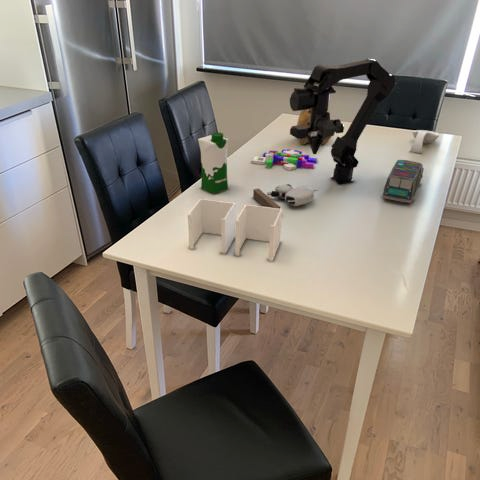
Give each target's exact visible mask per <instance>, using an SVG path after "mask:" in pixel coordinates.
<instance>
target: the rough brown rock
mask: <svg viewBox="0 0 480 480" xmlns="http://www.w3.org/2000/svg"><path fill="white" fill-rule="evenodd" d="M308 112H309V110H300V111H299V116H298V120H297V122H296V125H302V126H304V127H305V128H307V127H309V126H308V125H307V123H308V122H310V113H308ZM332 137H333V136H329V137H326V138H325V139H324V140H323V141H322V143H321V145H322V146H325V145H327V144H328V142H329V141H330V139H331V138H332ZM298 140H299V142H300V144H301V145H307V144H310V143H309V140H308V138H307V137H306V138H302V139H298Z"/></svg>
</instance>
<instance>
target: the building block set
mask: <svg viewBox="0 0 480 480" xmlns="http://www.w3.org/2000/svg"><path fill="white" fill-rule="evenodd" d="M317 160H318V158H317V157H310V154H306V153H303V151H301V150H299V149H294V150H291V149H289V148H288V149H287V148H286V149H282V150H281V151H278V150H269V151H268V152H264V153H263V154H262V156H257V155H255V156H254V157H253V159H251V164H257V165H266V166H265V168H266V169H271V168H272V166H273V165H279V166H283V168H284V169H285V170H287V171H293V170H296V169H302V168H304V169H314V166H315V164H316V163H317V162H318V161H317Z"/></svg>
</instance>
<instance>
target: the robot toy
mask: <svg viewBox="0 0 480 480" xmlns="http://www.w3.org/2000/svg"><path fill="white" fill-rule="evenodd" d="M319 191H320V190H319V189H313V188H310V187H305V186H298V187H295V188H294V187H293V186H292V185H291V184H290V183H287V184H282V185H278V186H275V189H274V190H271V191H268V192H266V195H267V196H270V197H271V198H277V197H278V198H279V199H281V200H283V199H284V201H285V203H286V204H290V205H291V206H293V207H299V206H302V205H305V204H308V203H310V202H311V201H312V200H313V199H314V198H315V192H319Z"/></svg>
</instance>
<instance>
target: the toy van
mask: <svg viewBox="0 0 480 480" xmlns="http://www.w3.org/2000/svg"><path fill="white" fill-rule="evenodd" d="M424 170H425V168H424V166H423V163H421V162H418V161H414V160H408V159H397V160H396V162H395V163H394V165H393V166H392V168H391V171H390V172H389V174H388V176H387V178H386V181H385V184H384V186H383V191H382V195H381V198H382V199H386V200H390V201H391V200H392V201H396V202H402V203H408V204H411V203H412V202H413V200H414V197H415V194H416V193H417V191H418V188H419V187H420V186H421V180H422V179H423V175H424Z"/></svg>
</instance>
